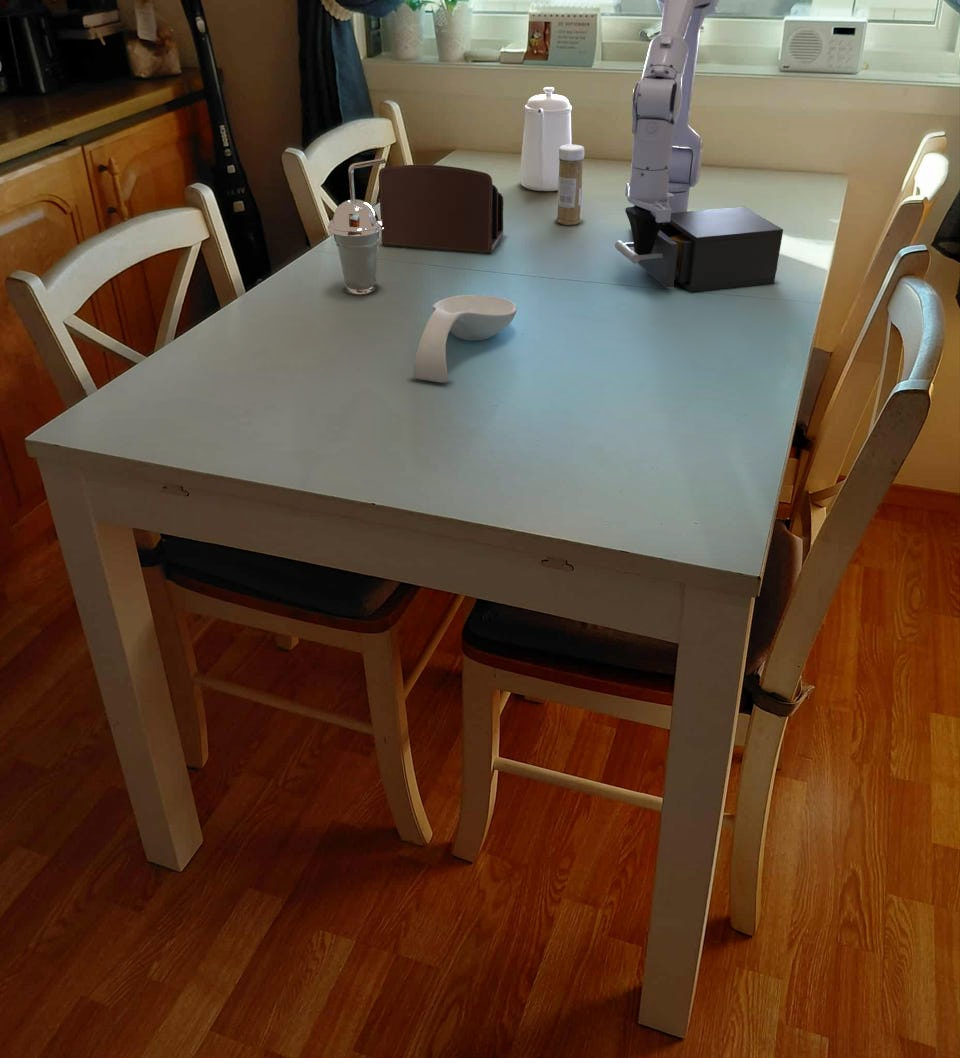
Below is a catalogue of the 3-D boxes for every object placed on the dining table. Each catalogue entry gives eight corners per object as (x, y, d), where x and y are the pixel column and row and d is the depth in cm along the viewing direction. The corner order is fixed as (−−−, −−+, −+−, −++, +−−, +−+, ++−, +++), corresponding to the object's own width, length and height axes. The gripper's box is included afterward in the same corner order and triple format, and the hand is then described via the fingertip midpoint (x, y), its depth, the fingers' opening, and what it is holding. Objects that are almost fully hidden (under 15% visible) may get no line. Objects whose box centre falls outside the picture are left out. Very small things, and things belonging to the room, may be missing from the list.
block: (686, 272, 154) (690, 244, 152) (665, 265, 157) (668, 237, 154) (704, 265, 156) (707, 238, 154) (682, 258, 159) (685, 231, 157)
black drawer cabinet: (689, 292, 152) (696, 237, 148) (657, 265, 162) (662, 213, 158) (774, 283, 155) (783, 229, 151) (737, 257, 166) (744, 206, 161)
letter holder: (491, 254, 167) (491, 169, 159) (381, 246, 171) (375, 163, 163) (503, 236, 175) (504, 154, 167) (398, 229, 179) (393, 148, 171)
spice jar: (585, 222, 182) (589, 146, 174) (569, 227, 179) (572, 151, 172) (567, 216, 185) (570, 142, 177) (550, 222, 182) (553, 146, 174)
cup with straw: (355, 276, 159) (345, 147, 148) (401, 286, 155) (394, 155, 144) (322, 292, 153) (309, 160, 142) (369, 303, 149) (359, 168, 138)
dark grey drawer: (634, 291, 150) (638, 247, 147) (607, 266, 160) (610, 225, 156) (745, 279, 154) (752, 236, 151) (713, 256, 163) (718, 215, 160)
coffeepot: (508, 201, 193) (510, 99, 182) (529, 169, 213) (531, 75, 202) (563, 204, 191) (567, 101, 180) (578, 171, 211) (583, 77, 201)
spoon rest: (450, 312, 146) (449, 265, 142) (526, 321, 143) (527, 273, 139) (389, 378, 128) (386, 326, 124) (474, 390, 125) (474, 337, 121)
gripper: (694, 176, 141) (683, 268, 149) (658, 152, 153) (650, 238, 160) (648, 179, 140) (639, 272, 147) (615, 154, 151) (609, 241, 159)
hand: (642, 255), depth 154 cm, fingers closed
